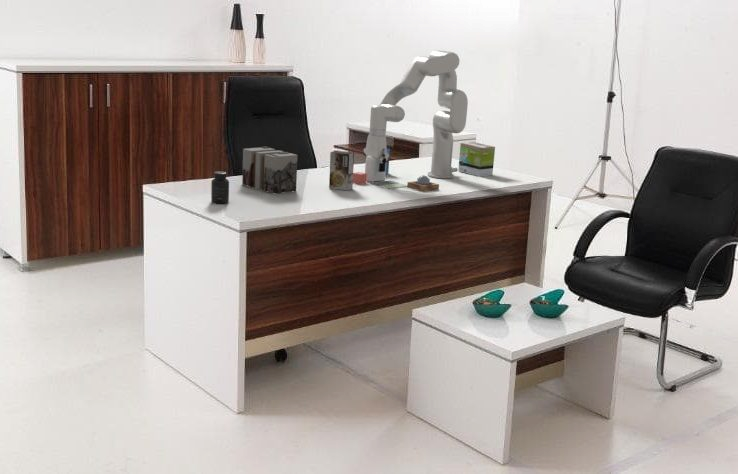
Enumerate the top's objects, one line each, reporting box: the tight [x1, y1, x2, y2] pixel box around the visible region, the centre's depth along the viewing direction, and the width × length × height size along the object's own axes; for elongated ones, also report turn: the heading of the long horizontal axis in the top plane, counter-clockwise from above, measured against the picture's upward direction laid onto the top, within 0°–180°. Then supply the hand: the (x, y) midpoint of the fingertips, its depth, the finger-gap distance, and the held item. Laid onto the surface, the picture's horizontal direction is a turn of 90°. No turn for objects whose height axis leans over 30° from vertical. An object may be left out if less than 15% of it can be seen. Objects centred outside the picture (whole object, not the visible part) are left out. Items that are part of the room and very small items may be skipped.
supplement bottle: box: [210, 170, 230, 205], centre depth 354 cm, size 7×7×12 cm
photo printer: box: [364, 155, 387, 183], centre depth 417 cm, size 10×4×12 cm, turn 123°
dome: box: [416, 175, 431, 185], centre depth 406 cm, size 6×6×5 cm
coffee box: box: [328, 150, 355, 192], centre depth 395 cm, size 9×6×16 cm
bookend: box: [241, 145, 298, 195], centre depth 387 cm, size 16×25×16 cm, turn 42°
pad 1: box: [369, 179, 399, 187], centre depth 413 cm, size 12×6×1 cm, turn 129°
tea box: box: [457, 141, 496, 178], centre depth 451 cm, size 15×10×15 cm, turn 41°
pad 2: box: [379, 182, 408, 190], centre depth 408 cm, size 12×6×1 cm, turn 129°
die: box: [353, 171, 367, 185], centre depth 411 cm, size 4×4×5 cm
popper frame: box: [406, 180, 440, 192], centre depth 407 cm, size 10×10×2 cm
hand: (375, 169), depth 417 cm, fingers open, 9 cm apart
